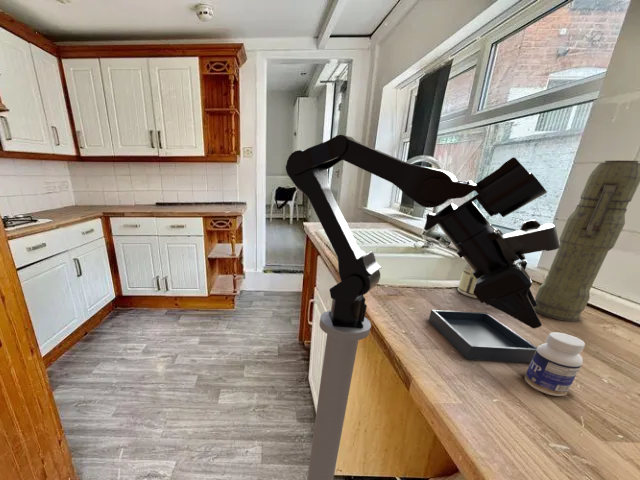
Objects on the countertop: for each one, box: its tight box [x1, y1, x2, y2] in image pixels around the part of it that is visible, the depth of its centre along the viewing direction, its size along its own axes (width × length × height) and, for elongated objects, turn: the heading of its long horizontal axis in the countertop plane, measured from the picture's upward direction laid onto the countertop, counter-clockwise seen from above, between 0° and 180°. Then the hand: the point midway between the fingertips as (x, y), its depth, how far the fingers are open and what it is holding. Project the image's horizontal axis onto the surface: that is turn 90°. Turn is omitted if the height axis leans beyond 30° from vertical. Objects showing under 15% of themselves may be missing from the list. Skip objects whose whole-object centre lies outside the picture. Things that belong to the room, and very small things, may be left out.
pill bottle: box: [524, 331, 586, 397], centre depth 48 cm, size 5×5×9 cm
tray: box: [428, 309, 538, 364], centre depth 62 cm, size 12×15×3 cm
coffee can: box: [457, 261, 478, 300], centre depth 84 cm, size 10×10×14 cm
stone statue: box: [534, 160, 640, 322], centre depth 70 cm, size 9×12×35 cm
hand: (535, 316), depth 48 cm, fingers open, 9 cm apart
